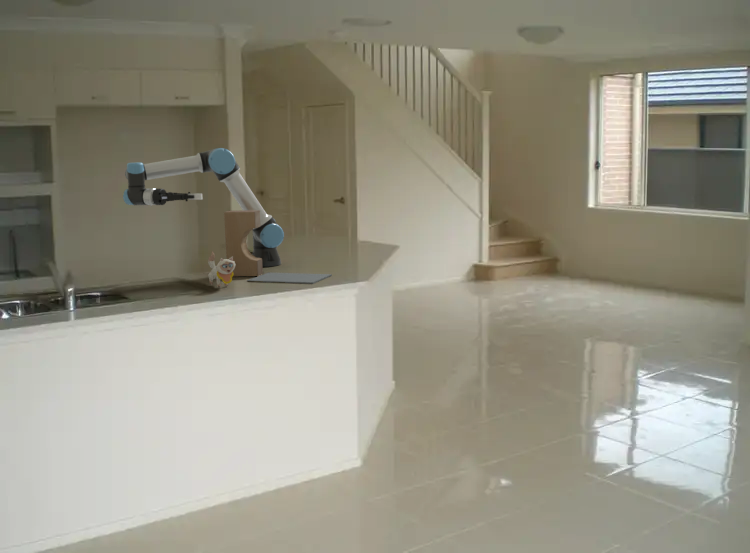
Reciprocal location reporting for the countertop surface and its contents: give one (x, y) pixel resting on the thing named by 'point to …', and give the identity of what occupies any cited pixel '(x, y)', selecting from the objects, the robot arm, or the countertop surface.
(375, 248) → the countertop surface
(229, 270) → the toy
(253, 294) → the countertop surface
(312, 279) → the mat
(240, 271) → the decorative block
